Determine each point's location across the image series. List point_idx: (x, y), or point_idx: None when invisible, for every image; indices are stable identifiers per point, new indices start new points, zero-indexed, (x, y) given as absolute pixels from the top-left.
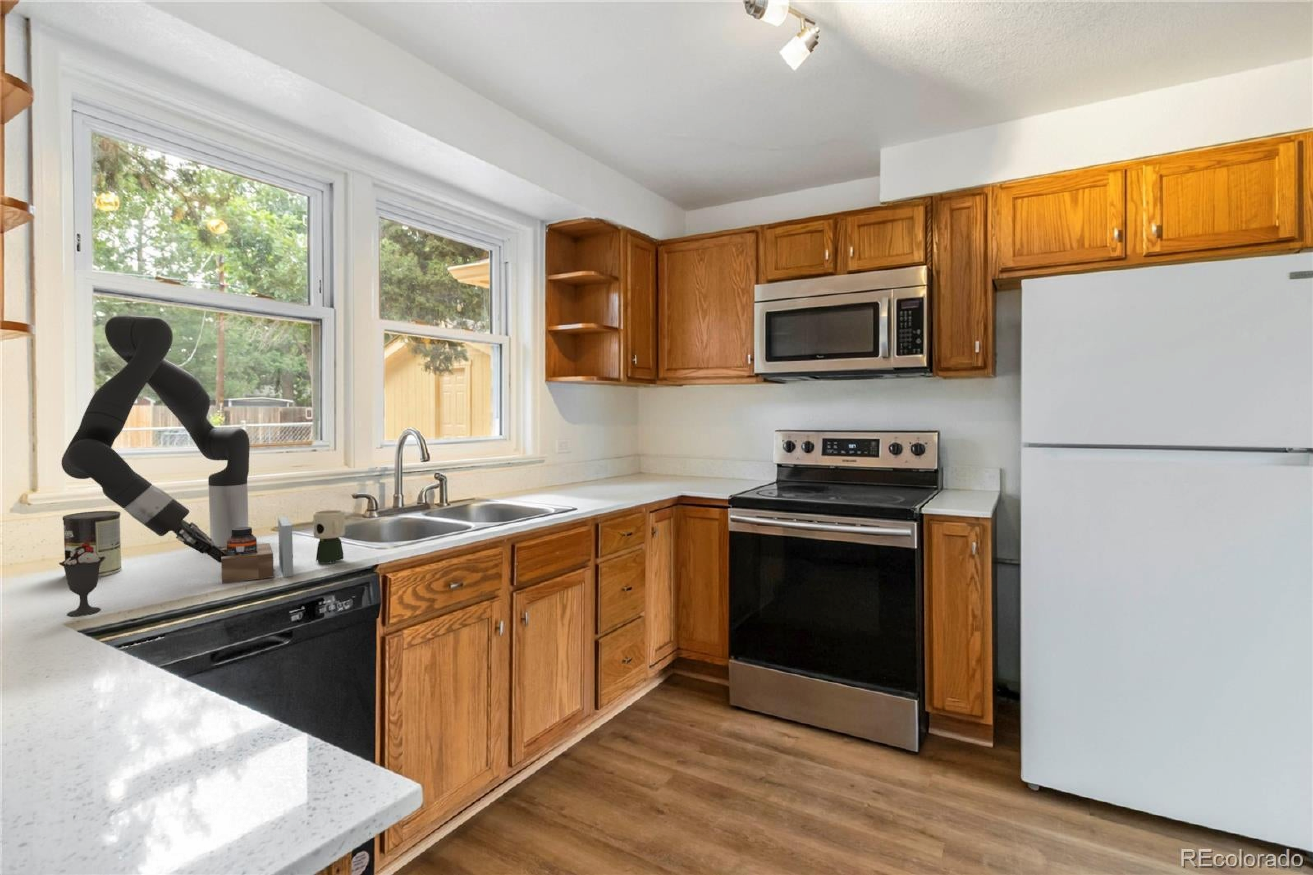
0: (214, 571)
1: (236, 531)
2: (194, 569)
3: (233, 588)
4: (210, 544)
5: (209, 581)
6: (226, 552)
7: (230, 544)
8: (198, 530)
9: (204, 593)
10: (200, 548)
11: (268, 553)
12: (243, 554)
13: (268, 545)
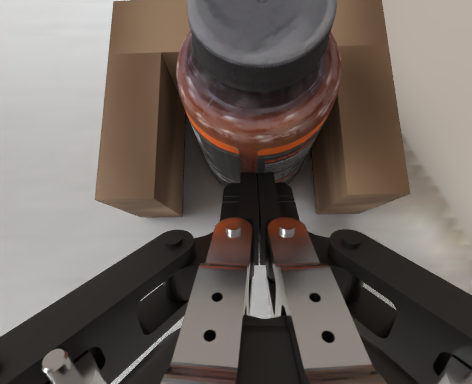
0: (116, 242)
1: (324, 42)
2: (30, 314)
3: (429, 178)
4: (369, 238)
5: None
6: (160, 179)
7: (311, 131)
8: (311, 350)
9: (463, 265)
10: (350, 300)
11: (372, 6)
12: (340, 100)
13: (169, 5)
